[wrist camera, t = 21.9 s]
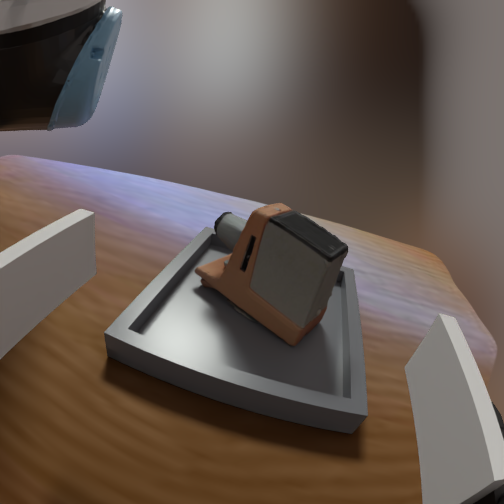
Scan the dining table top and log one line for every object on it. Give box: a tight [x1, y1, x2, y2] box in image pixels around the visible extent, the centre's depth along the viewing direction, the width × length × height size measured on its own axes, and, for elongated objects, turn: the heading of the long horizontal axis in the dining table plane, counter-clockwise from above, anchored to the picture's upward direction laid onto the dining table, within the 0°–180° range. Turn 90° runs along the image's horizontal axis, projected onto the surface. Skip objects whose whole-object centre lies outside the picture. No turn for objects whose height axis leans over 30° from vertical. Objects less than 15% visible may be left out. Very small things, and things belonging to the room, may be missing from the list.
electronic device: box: [195, 203, 348, 346], centre depth 22 cm, size 4×10×8 cm, turn 52°
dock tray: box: [104, 227, 368, 434], centre depth 23 cm, size 15×17×2 cm
